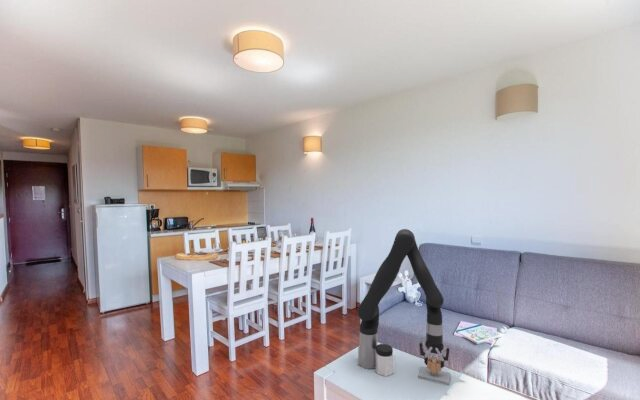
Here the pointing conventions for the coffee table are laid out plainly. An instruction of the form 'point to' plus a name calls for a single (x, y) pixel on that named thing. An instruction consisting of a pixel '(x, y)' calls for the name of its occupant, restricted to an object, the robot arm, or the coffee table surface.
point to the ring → (434, 365)
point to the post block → (434, 374)
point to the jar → (384, 359)
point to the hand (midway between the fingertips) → (434, 365)
